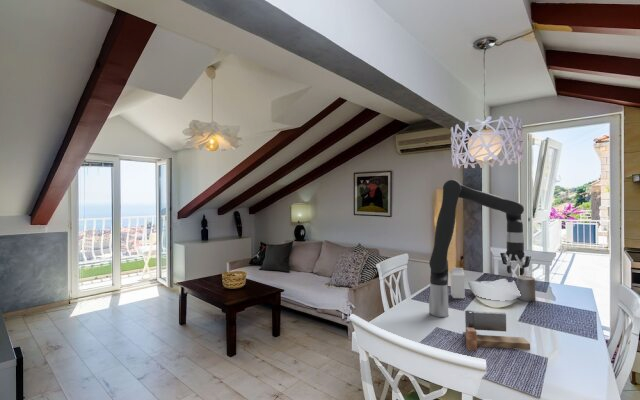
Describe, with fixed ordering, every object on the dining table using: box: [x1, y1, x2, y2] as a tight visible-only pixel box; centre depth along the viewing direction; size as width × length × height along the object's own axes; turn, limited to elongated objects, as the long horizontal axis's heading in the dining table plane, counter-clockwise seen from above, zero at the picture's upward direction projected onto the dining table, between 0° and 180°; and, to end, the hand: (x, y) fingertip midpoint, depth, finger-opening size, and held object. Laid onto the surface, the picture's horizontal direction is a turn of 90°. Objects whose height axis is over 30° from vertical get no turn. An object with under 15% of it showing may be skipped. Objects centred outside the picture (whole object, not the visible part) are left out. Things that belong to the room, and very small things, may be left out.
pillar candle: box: [516, 275, 536, 302], centre depth 198 cm, size 10×10×15 cm
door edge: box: [462, 326, 531, 351], centre depth 140 cm, size 26×18×8 cm
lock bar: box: [464, 310, 507, 332], centre depth 146 cm, size 17×4×10 cm, turn 80°
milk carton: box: [450, 267, 466, 299], centre depth 205 cm, size 7×7×19 cm
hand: (515, 274), depth 160 cm, fingers open, 5 cm apart
